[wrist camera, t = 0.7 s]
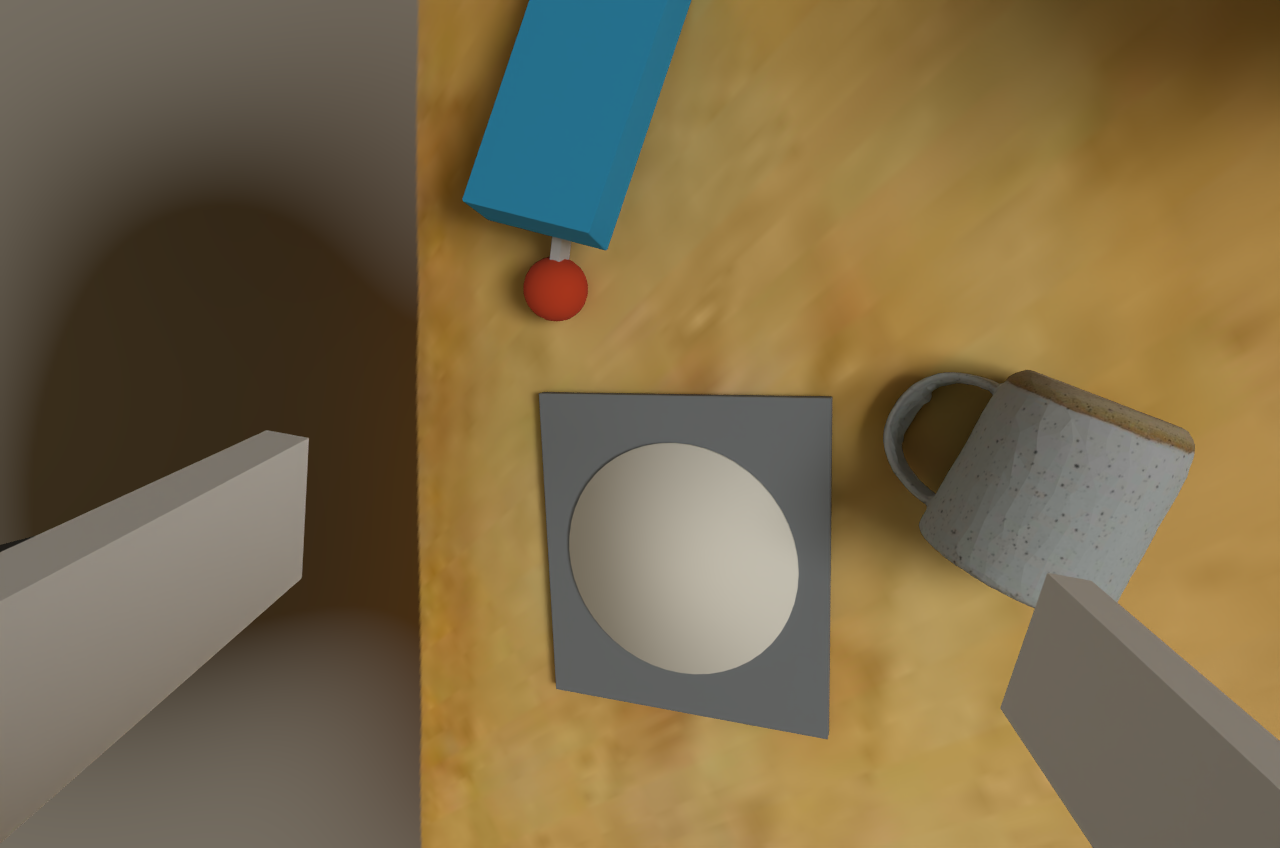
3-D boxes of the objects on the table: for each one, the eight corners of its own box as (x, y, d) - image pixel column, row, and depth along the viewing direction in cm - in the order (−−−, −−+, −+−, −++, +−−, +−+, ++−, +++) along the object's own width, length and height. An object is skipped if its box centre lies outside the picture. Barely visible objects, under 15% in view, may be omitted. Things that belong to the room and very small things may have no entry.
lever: (607, 10, 41) (505, 310, 41) (557, -85, 34) (436, 274, 34) (720, 26, 39) (613, 343, 39) (691, -71, 32) (562, 311, 32)
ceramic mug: (1179, 418, 30) (1249, 454, 23) (1083, 582, 33) (1121, 660, 26) (929, 328, 33) (925, 336, 26) (858, 484, 36) (837, 529, 29)
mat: (544, 392, 41) (537, 394, 40) (832, 396, 35) (830, 398, 35) (560, 683, 44) (554, 690, 43) (828, 732, 38) (827, 741, 38)
